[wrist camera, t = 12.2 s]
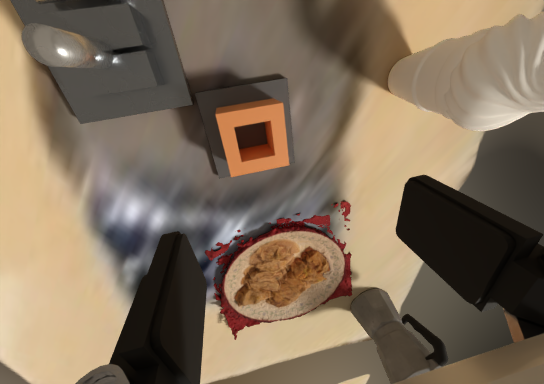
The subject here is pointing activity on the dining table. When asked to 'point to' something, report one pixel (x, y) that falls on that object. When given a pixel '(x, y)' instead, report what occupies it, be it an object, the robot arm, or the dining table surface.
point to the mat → (245, 133)
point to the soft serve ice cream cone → (478, 75)
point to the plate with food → (282, 273)
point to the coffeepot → (397, 337)
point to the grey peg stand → (107, 54)
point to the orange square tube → (261, 154)
